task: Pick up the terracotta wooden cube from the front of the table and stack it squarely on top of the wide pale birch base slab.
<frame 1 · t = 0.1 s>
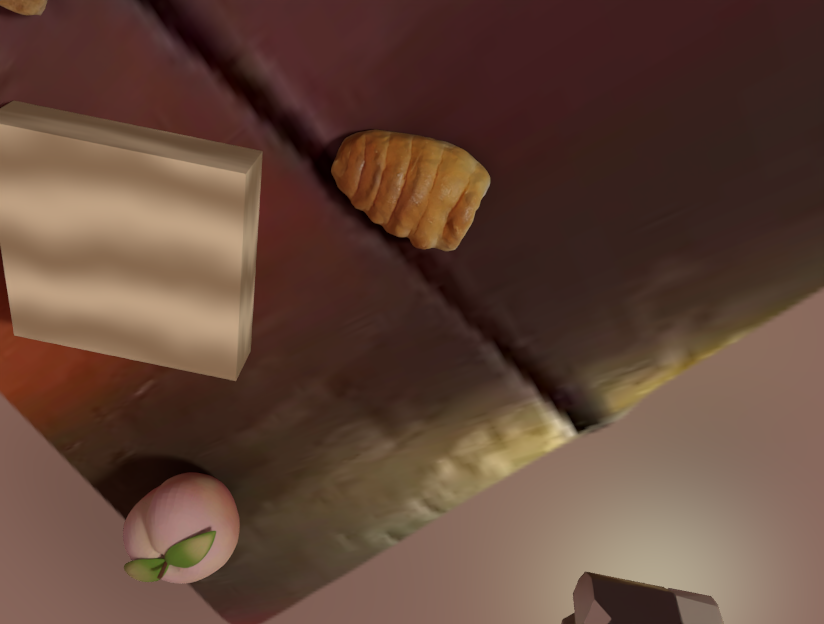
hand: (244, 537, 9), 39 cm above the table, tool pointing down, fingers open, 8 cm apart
birch base: (144, 233, 54), on the table
decorative fruit: (208, 481, 66), on the table
pastry: (419, 181, 49), on the table
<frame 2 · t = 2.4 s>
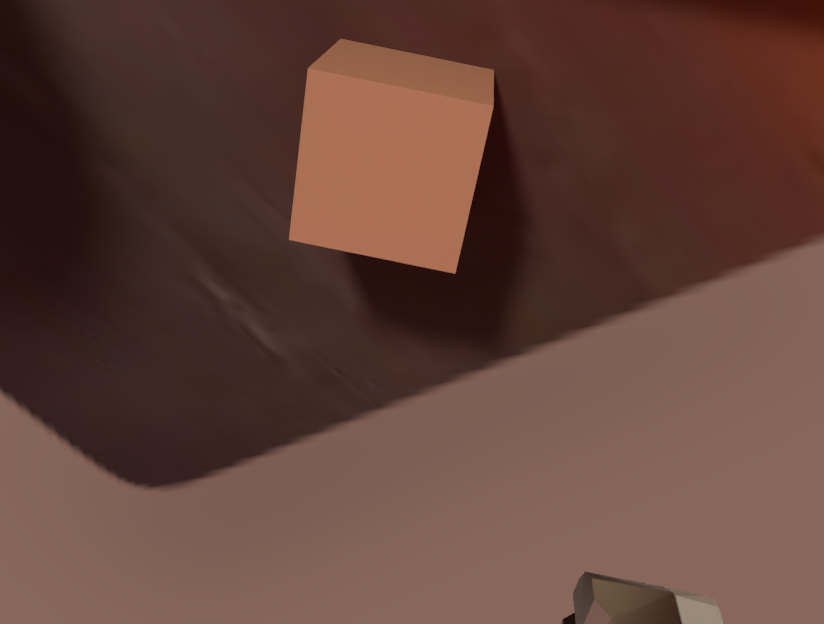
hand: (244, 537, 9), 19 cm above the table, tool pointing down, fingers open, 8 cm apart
terracotta block: (404, 129, 26), on the table
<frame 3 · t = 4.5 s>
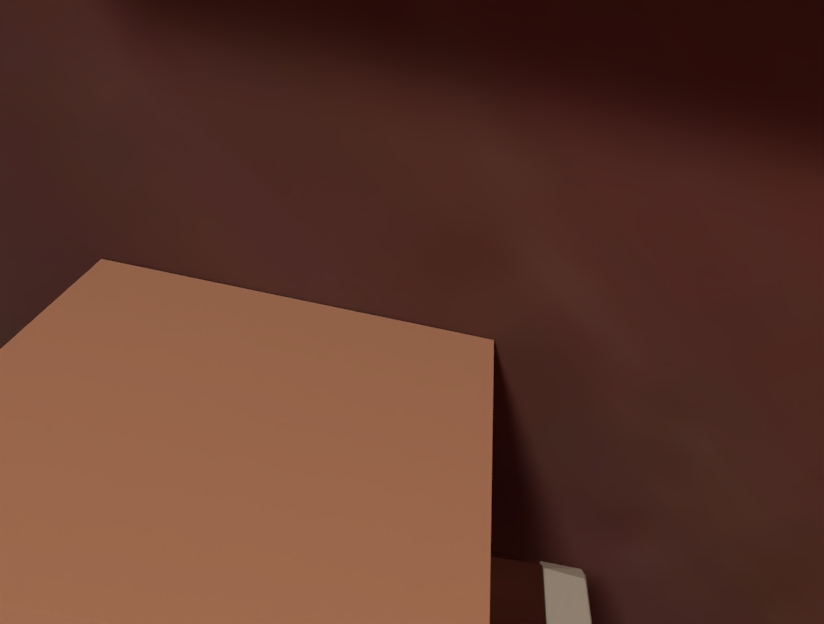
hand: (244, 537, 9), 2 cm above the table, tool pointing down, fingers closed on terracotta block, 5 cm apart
terracotta block: (278, 455, 11), on the table, touching gripper
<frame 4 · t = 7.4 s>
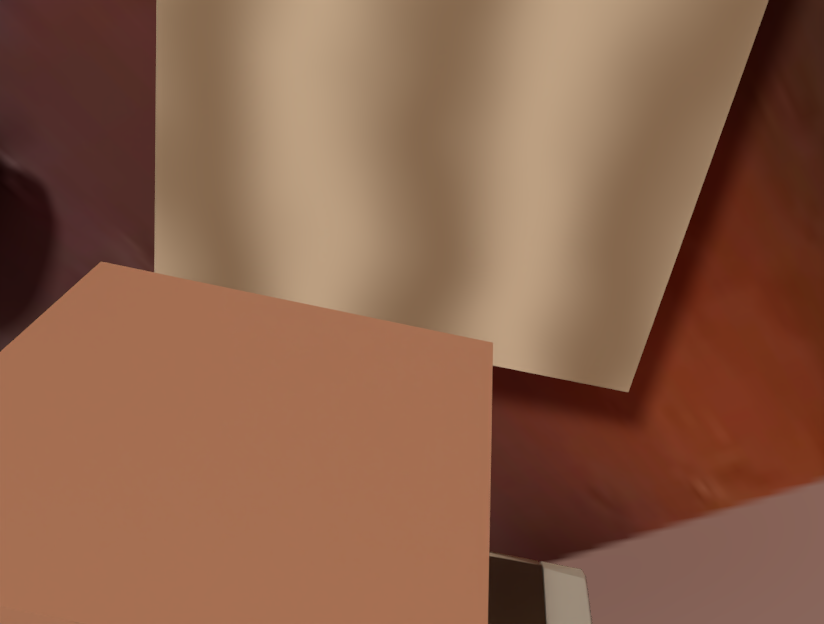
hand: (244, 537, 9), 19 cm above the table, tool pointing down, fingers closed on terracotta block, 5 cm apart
birch base: (442, 77, 26), on the table
terracotta block: (277, 457, 11), point 17 cm above the table, touching gripper
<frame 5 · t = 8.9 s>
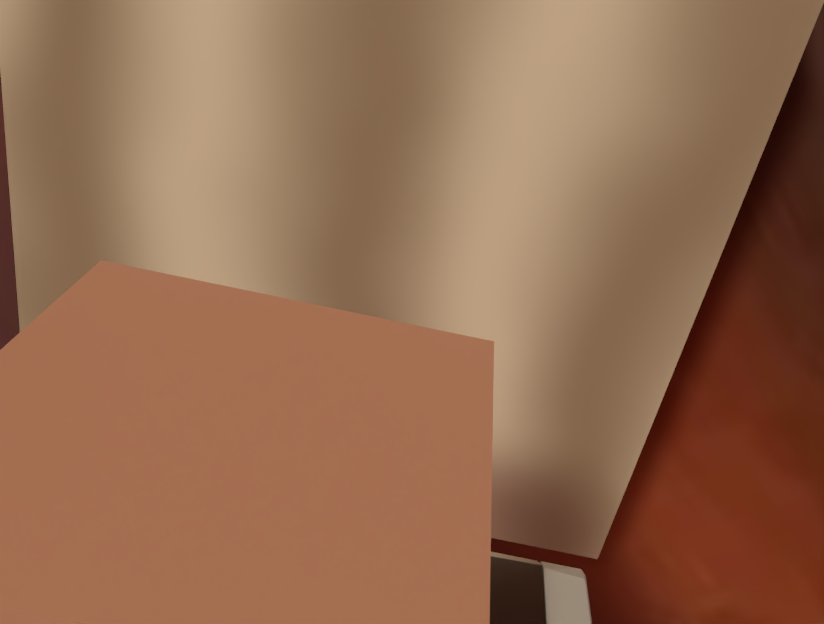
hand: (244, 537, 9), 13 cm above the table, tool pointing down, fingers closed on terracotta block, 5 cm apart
birch base: (377, 182, 21), on the table
terracotta block: (278, 456, 11), point 11 cm above the table, touching gripper
when the fingers open (7 cm above the table, at t = 10.3 s): terracotta block drops 2 cm, resting on birch base.
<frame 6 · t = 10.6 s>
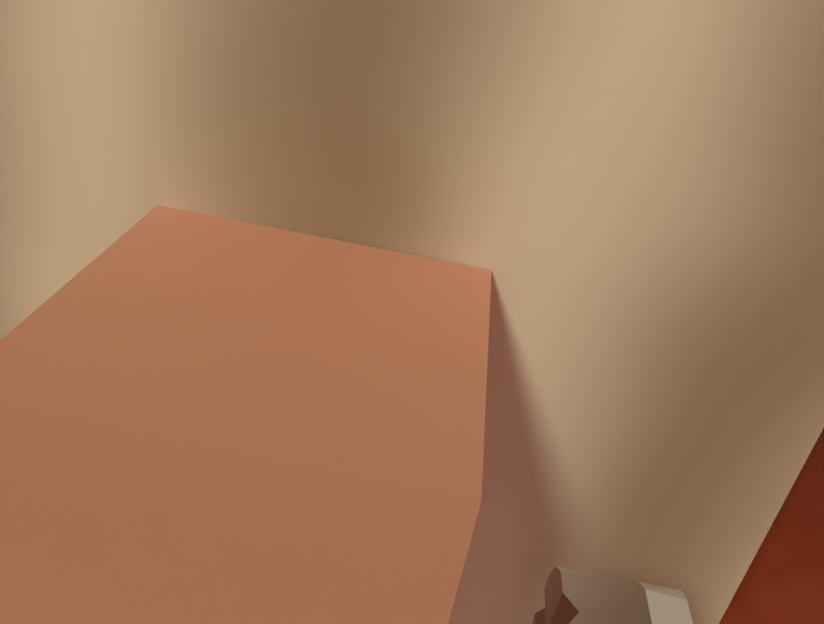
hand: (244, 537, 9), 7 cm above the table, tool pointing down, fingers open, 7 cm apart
birch base: (352, 274, 16), on the table, touching terracotta block
terracotta block: (307, 377, 13), point 3 cm above the table, touching birch base
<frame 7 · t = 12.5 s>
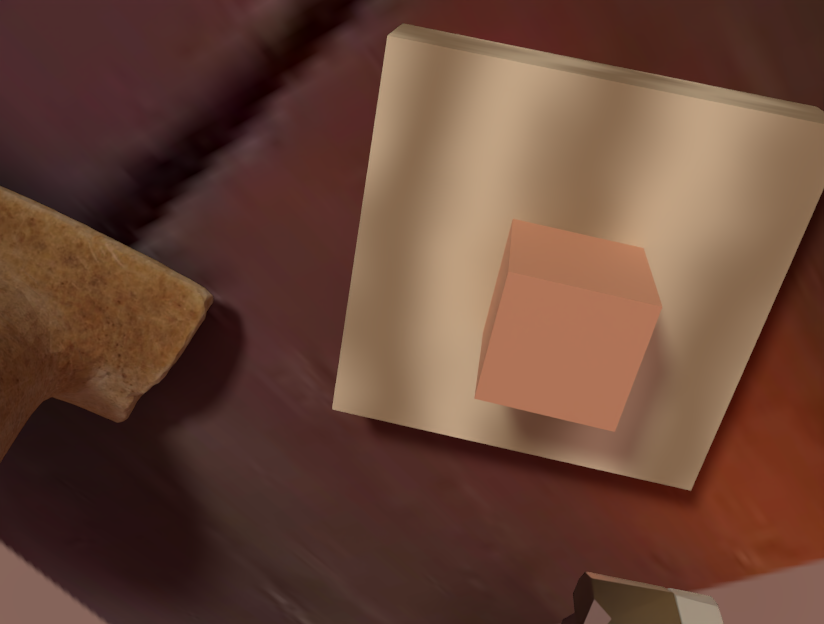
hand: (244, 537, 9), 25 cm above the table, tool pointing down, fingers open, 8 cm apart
birch base: (553, 249, 34), on the table, touching terracotta block
cork boot vase: (54, 299, 38), on the table
terracotta block: (560, 291, 30), point 3 cm above the table, touching birch base
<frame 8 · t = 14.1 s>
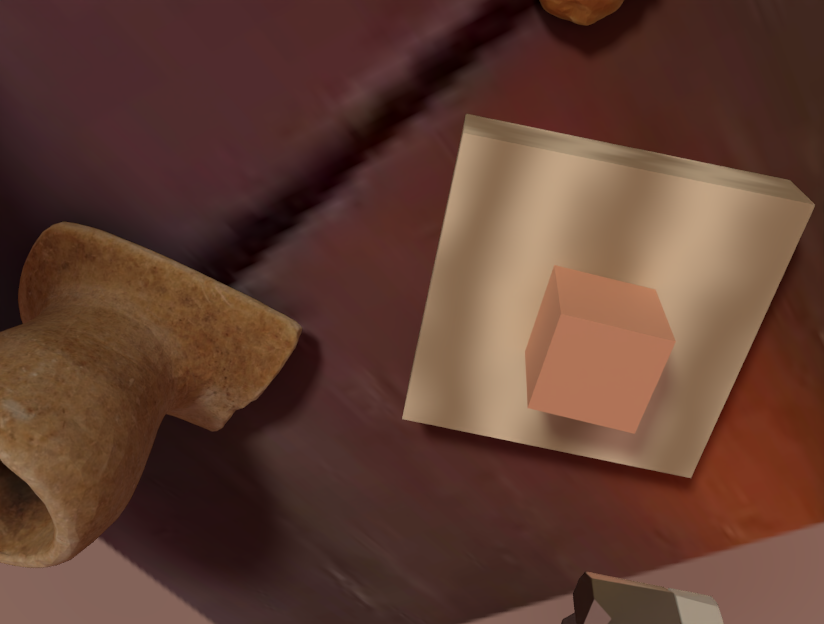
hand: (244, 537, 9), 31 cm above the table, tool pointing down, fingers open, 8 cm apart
birch base: (580, 287, 42), on the table, touching terracotta block
cork boot vase: (158, 329, 46), on the table
terracotta block: (588, 321, 38), point 3 cm above the table, touching birch base
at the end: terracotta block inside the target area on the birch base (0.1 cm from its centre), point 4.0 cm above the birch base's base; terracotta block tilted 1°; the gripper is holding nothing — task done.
